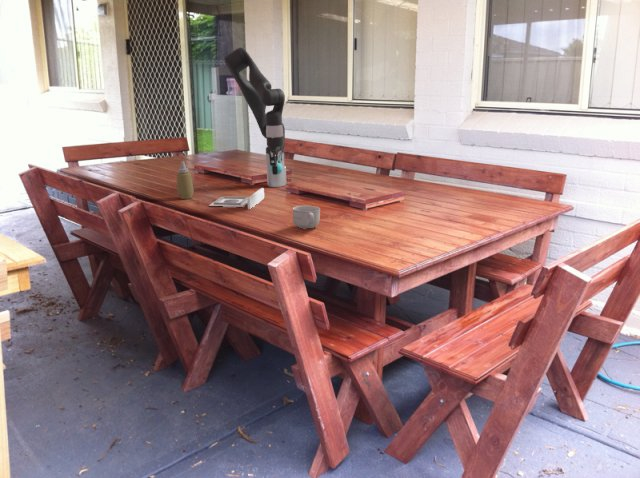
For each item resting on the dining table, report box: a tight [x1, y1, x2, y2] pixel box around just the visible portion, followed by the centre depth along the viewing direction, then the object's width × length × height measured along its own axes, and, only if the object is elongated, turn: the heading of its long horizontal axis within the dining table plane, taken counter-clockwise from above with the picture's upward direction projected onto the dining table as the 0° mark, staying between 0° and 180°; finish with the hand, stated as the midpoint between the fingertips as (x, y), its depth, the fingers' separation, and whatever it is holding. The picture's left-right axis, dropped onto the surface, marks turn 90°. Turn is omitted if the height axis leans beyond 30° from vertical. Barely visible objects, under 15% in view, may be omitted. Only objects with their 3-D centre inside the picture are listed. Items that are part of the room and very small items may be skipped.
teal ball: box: [271, 162, 283, 175], centre depth 270 cm, size 6×6×6 cm
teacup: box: [292, 205, 321, 229], centre depth 234 cm, size 14×11×8 cm
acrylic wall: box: [247, 187, 265, 210], centre depth 276 cm, size 22×1×5 cm, turn 169°
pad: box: [208, 195, 250, 208], centre depth 279 cm, size 16×16×2 cm
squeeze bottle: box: [176, 160, 195, 200], centre depth 289 cm, size 8×8×18 cm
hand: (276, 172), depth 271 cm, fingers closed on teal ball, 5 cm apart
